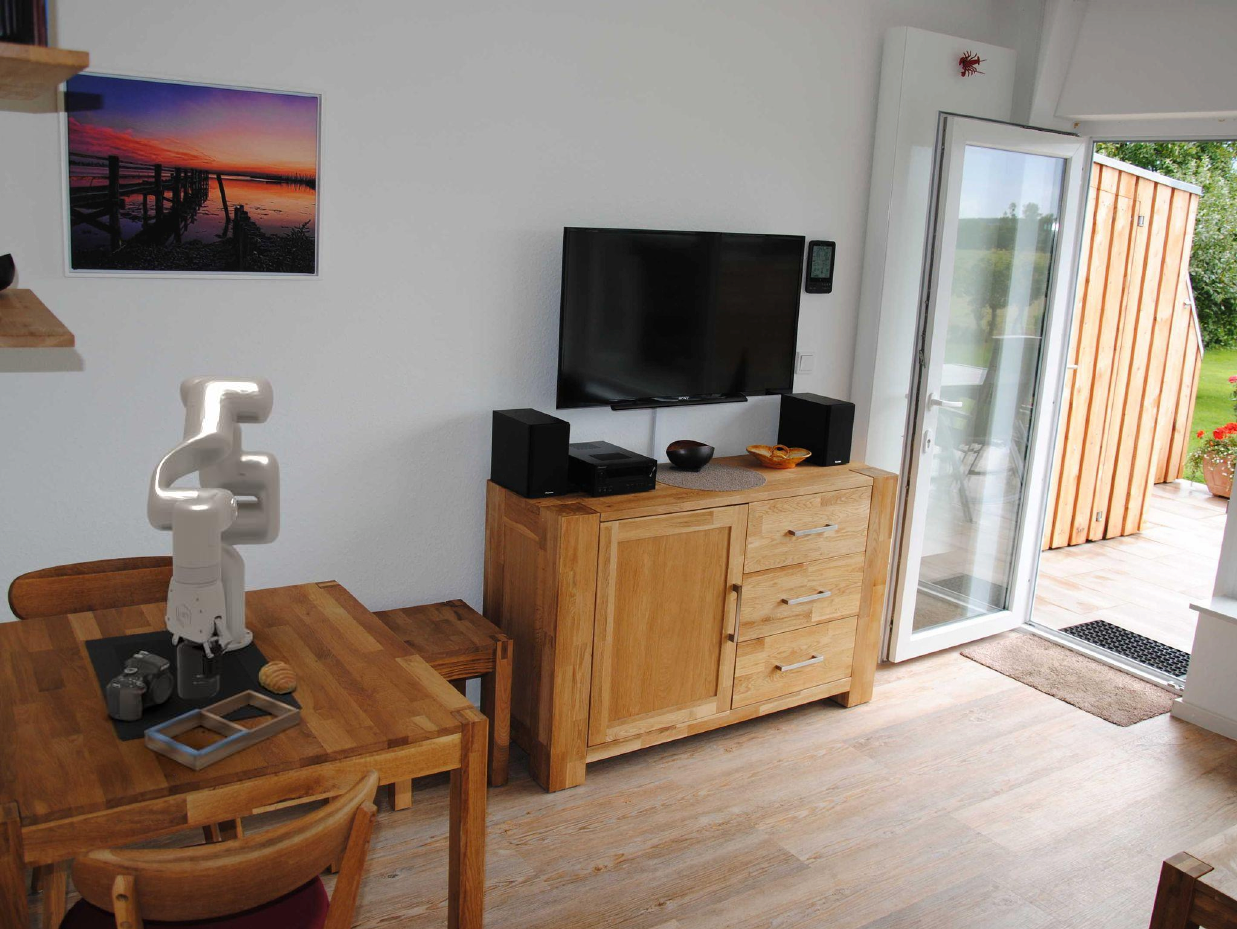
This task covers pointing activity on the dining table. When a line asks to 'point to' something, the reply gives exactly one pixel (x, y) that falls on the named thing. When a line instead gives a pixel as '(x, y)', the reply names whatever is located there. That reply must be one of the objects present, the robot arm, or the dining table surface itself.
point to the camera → (139, 686)
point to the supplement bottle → (194, 672)
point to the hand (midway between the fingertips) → (198, 669)
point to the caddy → (219, 729)
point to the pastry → (278, 677)
